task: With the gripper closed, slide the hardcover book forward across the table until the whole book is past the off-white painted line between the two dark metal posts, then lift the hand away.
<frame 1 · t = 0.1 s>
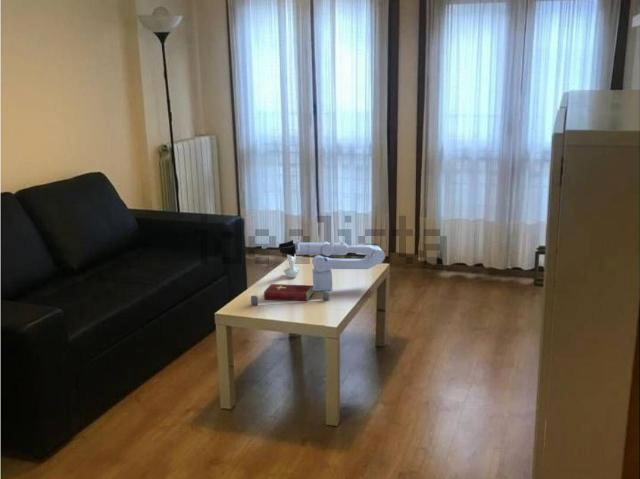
hand: (279, 248, 314), 22 cm above the table, tool horizontal, fingers open, 7 cm apart
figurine: (292, 276, 342), on the table
hardcover book: (289, 296, 311), on the table, touching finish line
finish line: (290, 302, 303), on the table
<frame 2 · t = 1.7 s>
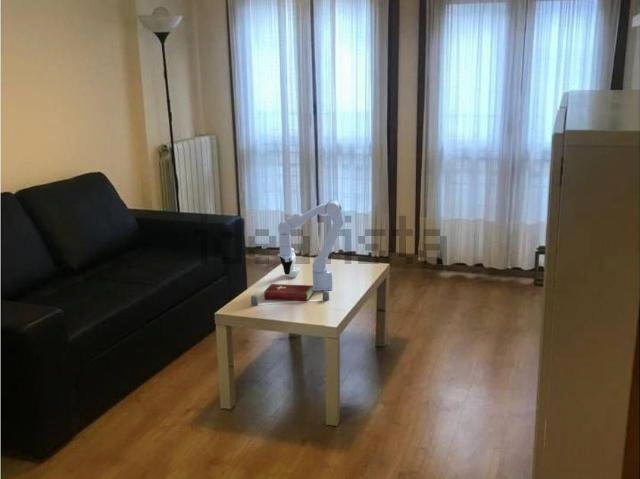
hand: (286, 272, 320), 8 cm above the table, tool pointing down, fingers open, 6 cm apart
nothing on the table moved.
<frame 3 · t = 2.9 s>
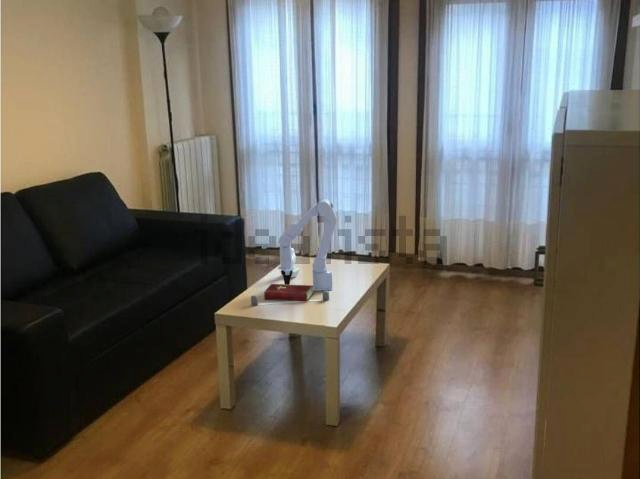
hand: (287, 284, 322), 2 cm above the table, tool pointing down, fingers closed
nothing on the table moved.
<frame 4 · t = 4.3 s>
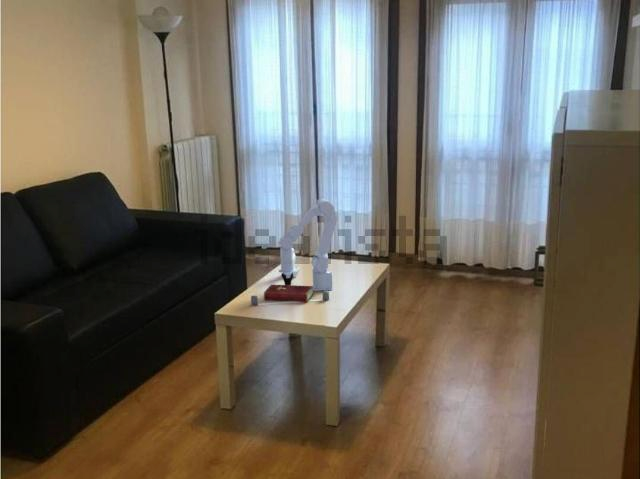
hand: (287, 288, 317), 2 cm above the table, tool pointing down, fingers closed
hardcover book: (289, 297, 310), on the table, touching gripper
everything else where it was.
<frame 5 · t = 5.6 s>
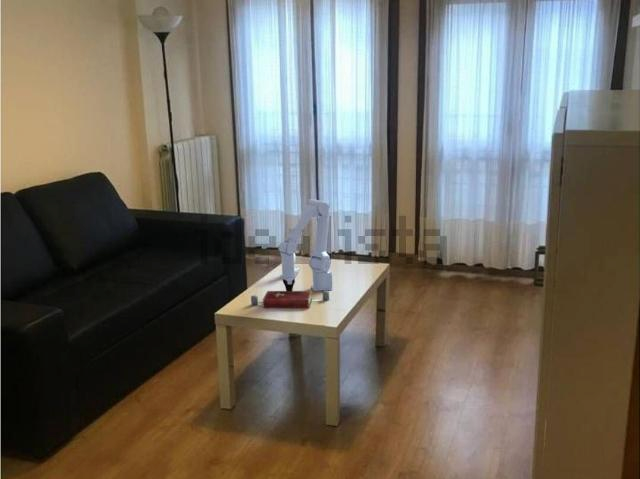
hand: (289, 294, 308), 2 cm above the table, tool pointing down, fingers closed
hardcover book: (288, 303, 301), on the table, touching gripper
everything else where it was.
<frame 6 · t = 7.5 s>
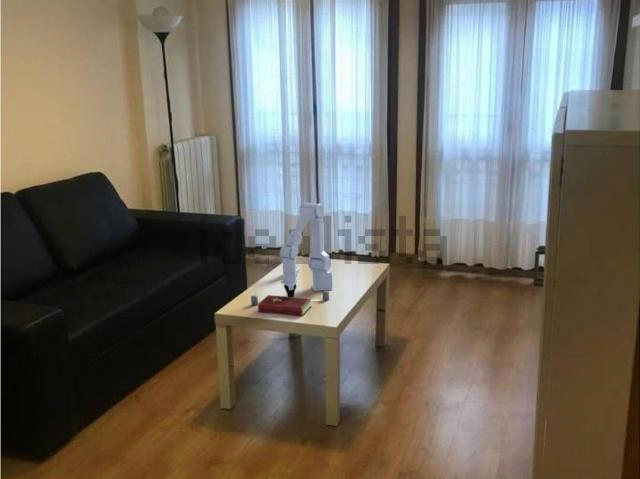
hand: (290, 300, 300), 2 cm above the table, tool pointing down, fingers closed
hardcover book: (285, 309, 294), on the table, touching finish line, gripper
everything else where it was.
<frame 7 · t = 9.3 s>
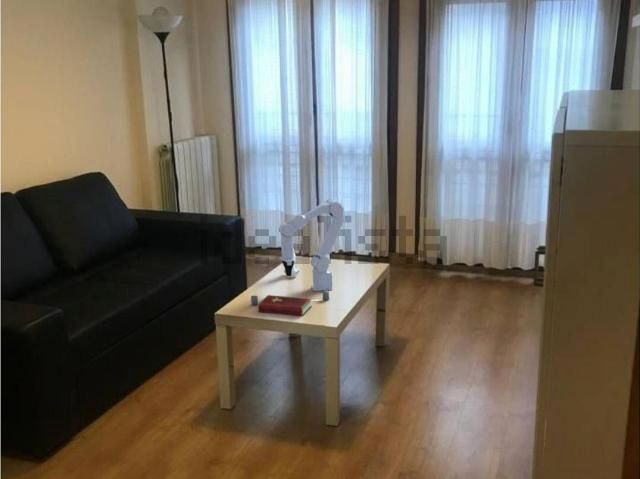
hand: (288, 275, 314), 9 cm above the table, tool pointing down, fingers closed
hardcover book: (285, 309, 294), on the table, touching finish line
everything else where it was.
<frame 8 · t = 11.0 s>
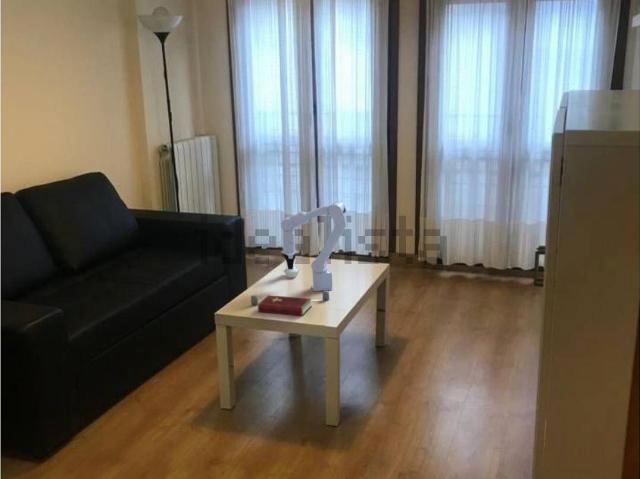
hand: (290, 268, 322), 9 cm above the table, tool pointing down, fingers closed
nothing on the table moved.
at the end: hardcover book inside the target area (4.9 cm from its centre), on the table; hardcover book moved 17.6 cm from its start; hardcover book tilted 0° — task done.
